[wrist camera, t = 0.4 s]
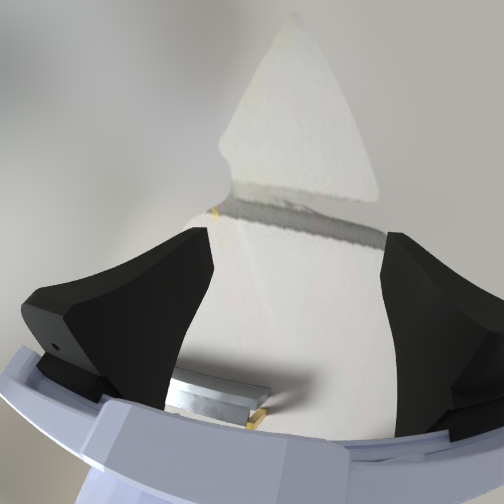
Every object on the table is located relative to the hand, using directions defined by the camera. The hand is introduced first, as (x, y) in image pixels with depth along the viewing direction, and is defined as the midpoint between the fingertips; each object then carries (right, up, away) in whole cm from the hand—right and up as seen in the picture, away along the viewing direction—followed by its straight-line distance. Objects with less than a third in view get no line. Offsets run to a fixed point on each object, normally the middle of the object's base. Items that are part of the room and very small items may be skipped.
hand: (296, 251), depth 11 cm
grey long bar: (-9, -22, +30) cm, 39 cm away
